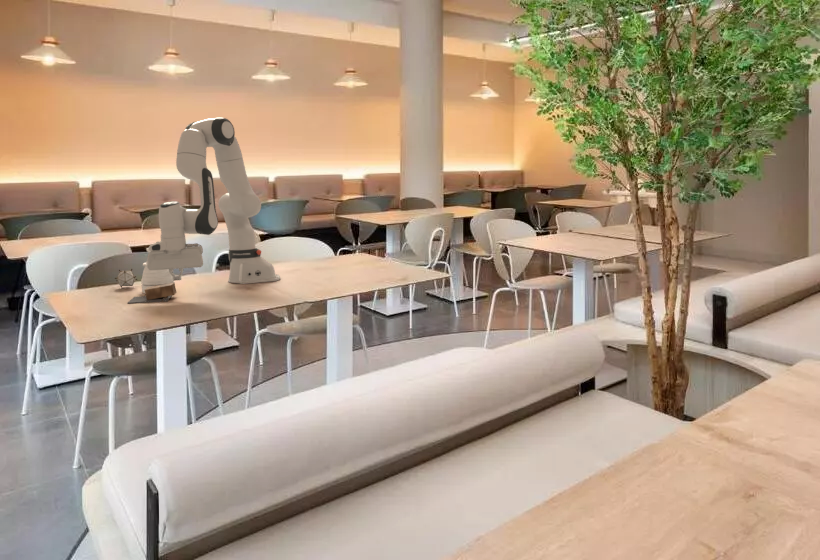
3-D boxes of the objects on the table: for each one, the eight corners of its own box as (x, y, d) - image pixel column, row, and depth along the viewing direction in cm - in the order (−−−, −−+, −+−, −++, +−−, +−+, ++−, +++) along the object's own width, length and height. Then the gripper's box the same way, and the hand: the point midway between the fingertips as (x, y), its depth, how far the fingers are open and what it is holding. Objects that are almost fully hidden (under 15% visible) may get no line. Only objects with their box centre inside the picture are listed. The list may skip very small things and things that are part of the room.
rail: (172, 294, 253) (172, 291, 253) (167, 301, 239) (166, 298, 239) (169, 295, 252) (169, 292, 252) (163, 301, 239) (163, 298, 239)
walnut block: (174, 282, 248) (147, 287, 246) (171, 285, 242) (144, 289, 241) (176, 292, 249) (149, 297, 247) (174, 295, 243) (146, 300, 241)
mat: (166, 295, 251) (166, 294, 251) (161, 301, 240) (161, 300, 240) (134, 297, 249) (134, 296, 249) (127, 303, 237) (127, 302, 237)
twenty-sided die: (129, 297, 272) (126, 280, 265) (112, 289, 273) (108, 273, 266) (142, 283, 278) (140, 267, 271) (125, 276, 279) (122, 260, 272)
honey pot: (143, 295, 254) (139, 250, 251) (140, 290, 266) (136, 247, 263) (177, 291, 260) (173, 247, 257) (173, 287, 271) (169, 245, 268)
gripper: (203, 242, 248) (206, 277, 251) (147, 245, 244) (151, 280, 247) (201, 243, 242) (204, 279, 245) (144, 247, 238) (148, 283, 241)
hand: (177, 280), depth 246 cm, fingers closed
